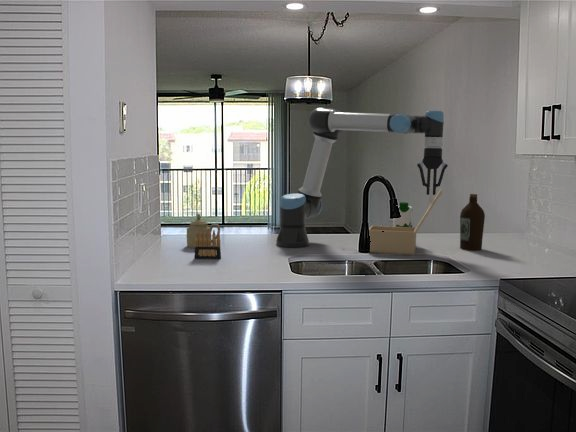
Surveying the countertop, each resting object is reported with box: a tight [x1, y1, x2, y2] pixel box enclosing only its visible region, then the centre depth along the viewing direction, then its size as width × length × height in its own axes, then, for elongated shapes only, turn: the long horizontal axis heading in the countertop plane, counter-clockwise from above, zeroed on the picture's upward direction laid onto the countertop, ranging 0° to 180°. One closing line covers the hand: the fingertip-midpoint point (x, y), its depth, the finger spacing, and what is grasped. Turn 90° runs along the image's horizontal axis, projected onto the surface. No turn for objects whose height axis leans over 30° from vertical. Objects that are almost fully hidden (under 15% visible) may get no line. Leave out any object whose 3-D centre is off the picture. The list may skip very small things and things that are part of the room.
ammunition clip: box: [193, 229, 222, 260], centre depth 233 cm, size 11×2×12 cm, turn 90°
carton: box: [368, 225, 417, 256], centre depth 253 cm, size 20×13×10 cm, turn 75°
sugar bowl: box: [186, 213, 221, 249], centre depth 260 cm, size 15×11×15 cm
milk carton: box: [392, 201, 414, 228], centre depth 270 cm, size 9×9×20 cm
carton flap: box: [415, 188, 443, 233], centre depth 247 cm, size 20×14×1 cm
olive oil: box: [459, 193, 486, 252], centre depth 259 cm, size 11×11×25 cm
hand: (430, 202), depth 246 cm, fingers closed
